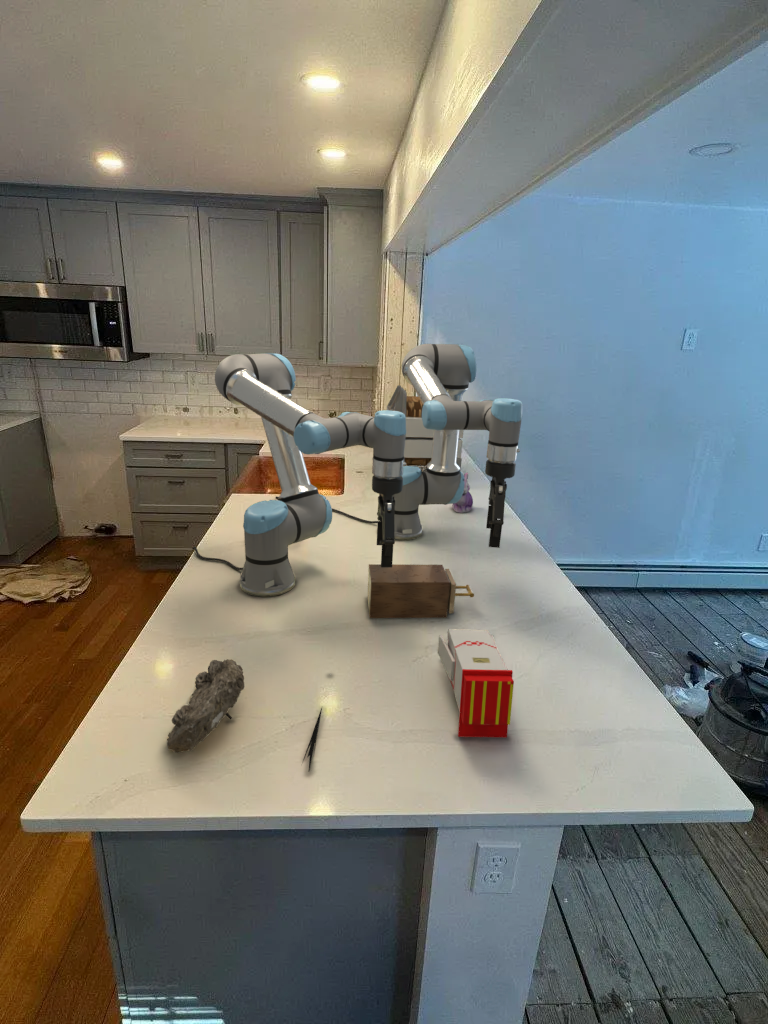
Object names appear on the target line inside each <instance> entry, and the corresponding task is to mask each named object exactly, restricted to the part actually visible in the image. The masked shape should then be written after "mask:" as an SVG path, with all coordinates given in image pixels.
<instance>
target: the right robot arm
mask: <svg viewBox="0 0 768 1024" xmlns="http://www.w3.org/2000/svg"><path fill="white" fill-rule="evenodd" d="M475 354H476V353H475V351H474V350H473V348H472V347H471V346H469V345H467V344H466V345H465V344H458V343H457V344H456V343H448V344H447V343H421V344H418V345H415V346H414V347H413V348H411V349H410V350H409V351H408V352H407V353H406V354H405V355H404V357H403V360H402V362H401V374H402V376H403V378H404V380H405V381H406V382H407V383H408V384H409V385H410V386H412V388H413V389H414V391H415V393H416V395H417V396H418V397H419V398H420V400H421V402H422V404H423V408H422V421H423V426H424V427H425V428H426V429H432V430H434V434H433V446H432V458H431V462H429V463H428V464H427V466H425V470H423V471H422V469H421V467H420V466H407V465H406V466H403V475H402V477H403V489H402V492H400V493H399V494H394V495H393V497H394V500H395V515H394V540H395V541H410V540H415V539H418V538H420V537H421V536H422V535H423V525H422V524H421V518H420V515H419V507H420V506H422V505H423V506H424V505H425V506H426V505H428V506H429V505H445V506H447V505H453V504H454V503H457V502H458V501H459V500H460V499H461V497H462V494H463V491H464V485H465V482H464V475H465V473H463V472H462V470H461V471H460V467H459V466H458V465H457V463H456V459H457V449H458V439H459V430H464V431H488V439H487V440H488V442H487V448H486V455H485V456H486V458H487V459H486V461H485V467H484V468H485V469H484V473H485V475H487V476H488V477H490V478H491V480H490V482H489V485H490V487H489V497H488V507H487V517H486V527H485V528H486V529H489V530H490V532H489V539H488V548H496V549H500V548H501V540H502V539H501V538H502V529H503V525H504V523H505V521H504V520H505V519H504V517H505V506H506V505H505V503H506V492H507V489H508V484H507V481H506V479H511V478H514V477H515V475H516V467H517V466H516V465H517V463H516V461H517V457H518V454H517V453H520V451H521V450H520V449H521V448H518V447H519V441H520V433H521V426H522V419H523V406H524V405H523V403H522V401H521V400H519V399H516V398H506V397H499V398H498V397H497V398H495V399H487V398H485V399H480V400H478V401H477V400H472V401H471V400H463V399H464V393H466V391H468V390H469V385H470V384H472V383H473V382H475V380H476V377H477V373H478V363H477V358H476V355H475ZM274 498H275V500H278V498H279V496H275V497H274ZM332 512H335V513H339V514H341V515H343V516H346V517H348V518H351V519H354V520H357V521H359V522H363V523H366V524H378V520H367V519H363V518H361V517H360V518H359V517H357V516H354V515H352V514H349V513H347V512H344V511H341V510H338V509H335V508H332ZM389 539H391V538H389Z"/></svg>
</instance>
